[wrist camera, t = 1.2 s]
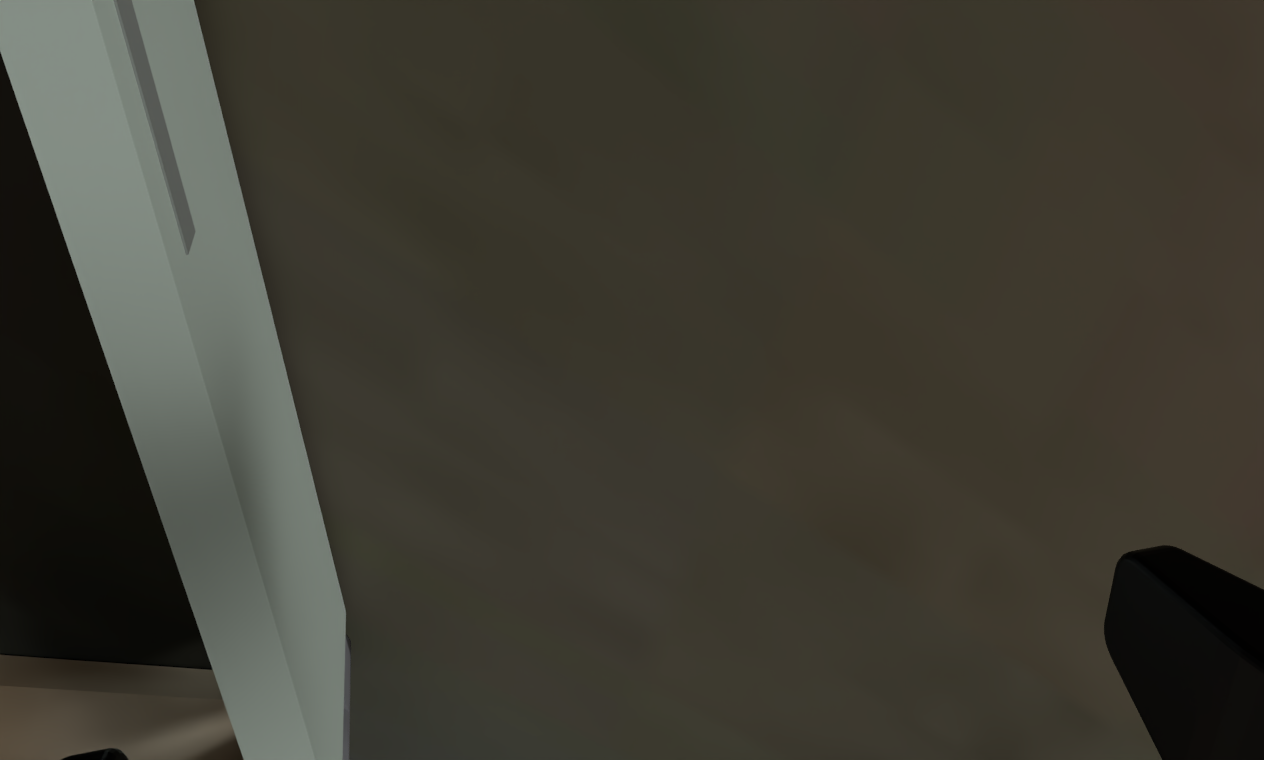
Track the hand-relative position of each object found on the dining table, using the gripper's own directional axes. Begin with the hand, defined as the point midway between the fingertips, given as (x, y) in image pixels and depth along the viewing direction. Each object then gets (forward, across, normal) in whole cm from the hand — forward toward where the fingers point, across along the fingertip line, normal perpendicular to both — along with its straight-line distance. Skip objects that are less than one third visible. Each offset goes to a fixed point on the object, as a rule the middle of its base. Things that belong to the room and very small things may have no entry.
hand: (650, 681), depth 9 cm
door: (+12, +5, +3) cm, 13 cm away
